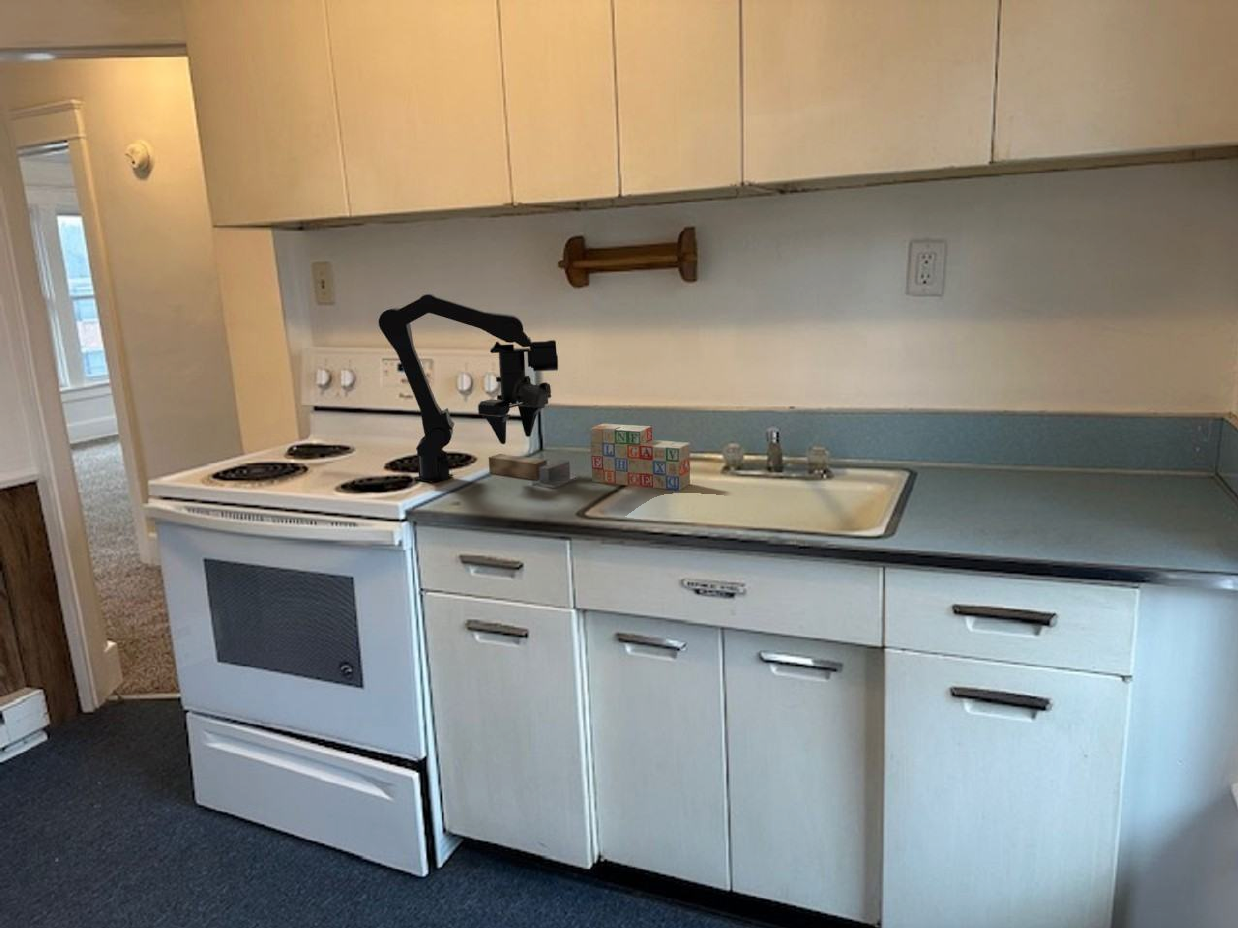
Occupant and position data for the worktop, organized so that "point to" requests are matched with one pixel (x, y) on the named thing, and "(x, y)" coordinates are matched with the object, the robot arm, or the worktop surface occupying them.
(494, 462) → the bar
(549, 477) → the ridge
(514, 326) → the robot arm
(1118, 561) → the worktop surface
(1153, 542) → the worktop surface
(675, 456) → the stack of blocks
